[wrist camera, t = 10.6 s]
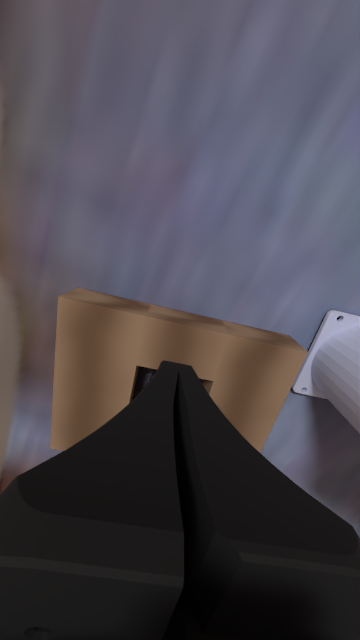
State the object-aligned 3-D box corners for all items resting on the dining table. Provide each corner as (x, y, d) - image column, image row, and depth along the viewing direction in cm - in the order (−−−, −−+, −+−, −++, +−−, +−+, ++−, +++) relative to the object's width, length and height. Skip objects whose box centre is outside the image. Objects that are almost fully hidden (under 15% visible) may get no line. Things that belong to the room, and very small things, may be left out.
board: (289, 335, 19) (308, 352, 16) (238, 453, 24) (245, 482, 21) (77, 287, 18) (58, 296, 15) (66, 422, 23) (50, 448, 20)
